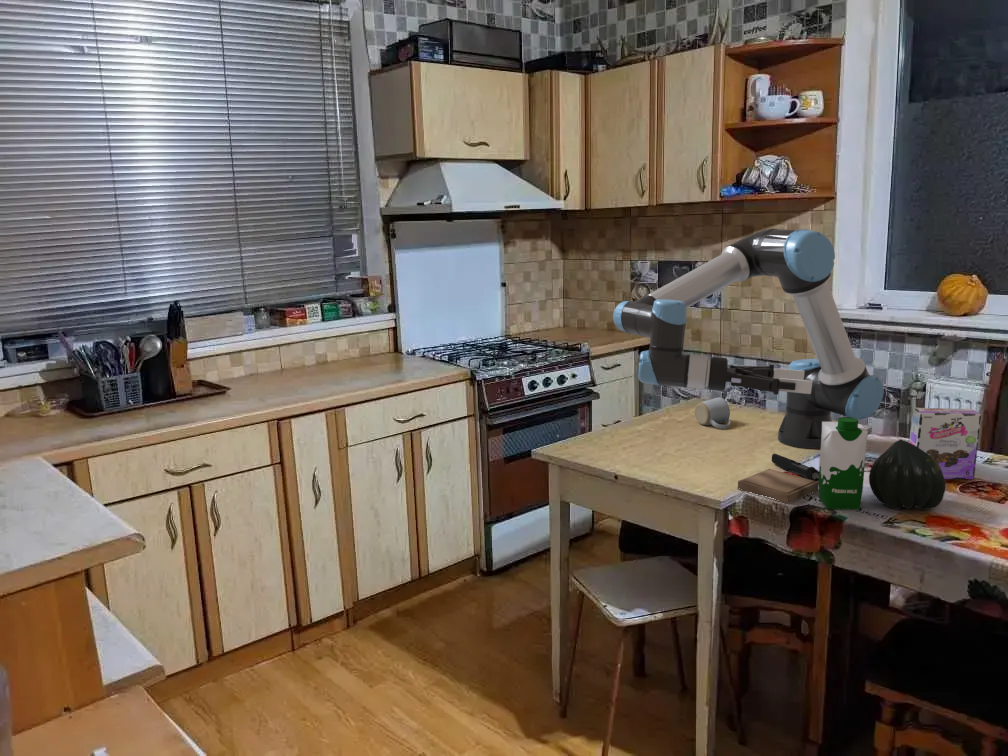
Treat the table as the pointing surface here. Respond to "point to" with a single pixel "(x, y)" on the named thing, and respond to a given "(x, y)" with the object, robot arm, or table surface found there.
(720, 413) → the ceramic mug
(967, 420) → the candy box
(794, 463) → the electric trimmer
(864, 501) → the table surface
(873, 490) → the squash
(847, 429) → the milk carton
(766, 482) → the board
